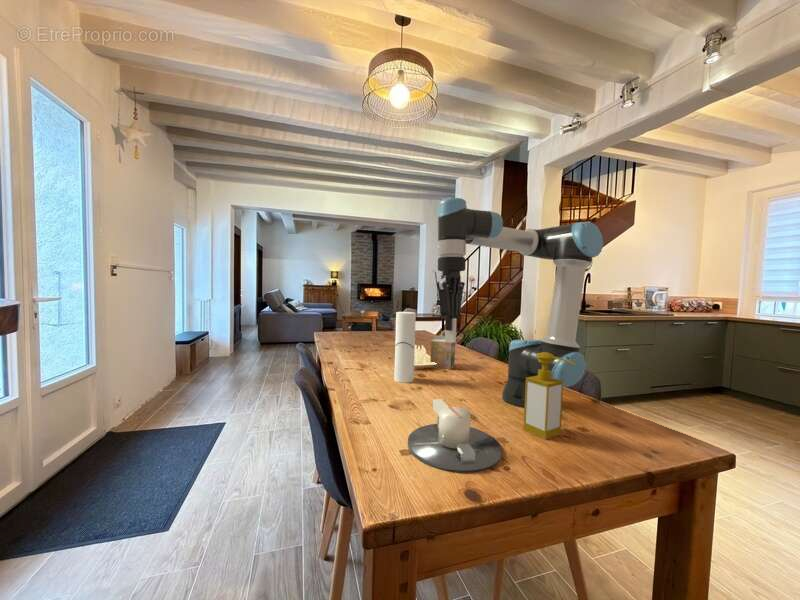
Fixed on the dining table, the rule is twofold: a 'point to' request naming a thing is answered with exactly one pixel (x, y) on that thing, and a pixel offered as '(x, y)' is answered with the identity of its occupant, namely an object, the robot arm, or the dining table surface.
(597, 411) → the dining table surface
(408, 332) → the container
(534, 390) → the soap bottle
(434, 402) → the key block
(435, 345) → the milk carton
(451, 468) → the post base
